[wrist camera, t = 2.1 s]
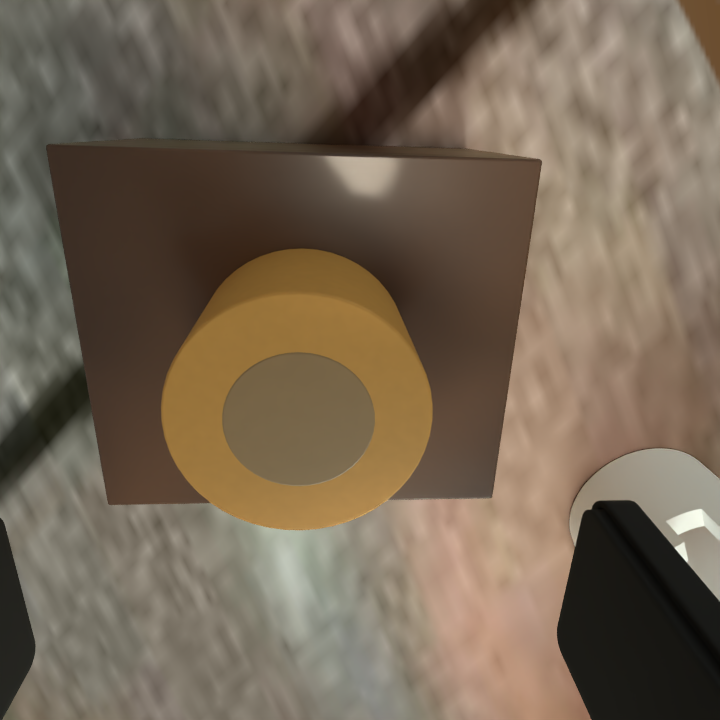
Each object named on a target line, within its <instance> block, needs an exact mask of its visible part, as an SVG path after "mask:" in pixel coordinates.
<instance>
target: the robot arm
mask: <svg viewBox="0 0 720 720" xmlns="http://www.w3.org/2000/svg"><path fill="white" fill-rule="evenodd" d="M557 638H558V644H559V648H560V651H561V653H562V656H563V658H564V660H565V662H566V664H567V667H568V669H569V671H570V673H571V675H572V677H573V680H574V682H575V684H576V686H577V688H578V691H579V693H580V695H581V697H582V699H583V702H584V704H585V706H586V708H587V710H588V713H589V715H590V717H591V719H592V720H720V601H719V600H718V599H717V598H716V596H715V595H714V594H713V593H712V592H711V590H710V589H709V588H708V587H707V586H706V585H705V583H704V582H703V581H702V580H701V579H700V577H699V576H698V575H697V574H696V573H695V572H694V570H693V569H692V568H691V567H690V566H689V564H688V563H687V562H686V561H685V560H684V558H683V557H682V556H681V555H680V554H679V553H678V551H677V550H676V549H675V548H674V547H673V545H672V544H671V543H670V542H669V541H668V540H667V538H666V537H665V536H664V535H663V534H662V532H661V531H660V530H659V529H658V528H657V527H656V525H655V524H654V523H653V522H652V521H651V519H650V518H649V517H648V516H647V515H646V513H645V512H644V511H643V510H642V509H641V508H640V506H639V505H638V504H637V503H635V502H634V501H631V500H601V501H596V502H595V503H594V504H593V506H592V509H591V510H585V511H584V513H583V515H582V519H581V523H580V528H579V532H578V537H577V541H576V546H575V550H574V555H573V559H572V564H571V568H570V573H569V577H568V582H567V586H566V591H565V595H564V600H563V604H562V609H561V613H560V618H559V622H558V627H557ZM34 655H35V640H34V636H33V632H32V628H31V624H30V620H29V616H28V613H27V609H26V605H25V601H24V597H23V593H22V589H21V586H20V582H19V578H18V574H17V570H16V566H15V563H14V559H13V555H12V551H11V547H10V543H9V539H8V536H7V532H6V528H5V524H4V522H3V520H2V519H1V518H0V720H2V719H3V717H4V715H5V713H6V711H7V710H8V708H9V706H10V704H11V702H12V701H13V699H14V697H15V695H16V693H17V691H18V690H19V688H20V686H21V684H22V682H23V680H24V679H25V677H26V675H27V673H28V671H29V669H30V667H31V665H32V662H33V659H34Z"/></svg>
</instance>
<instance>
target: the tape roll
mask: <svg viewBox="0 0 720 720" xmlns="http://www.w3.org/2000/svg"><path fill="white" fill-rule="evenodd" d="M432 414H433V404H432V396H431V389H430V385H429V382H428V378H427V375H426V372H425V370H424V368H423V365H422V363H421V361H420V359H419V356H418V354H417V352H416V349H415V347H414V345H413V343H412V340H411V338H410V336H409V334H408V331H407V329H406V327H405V324H404V322H403V320H402V318H401V315H400V313H399V311H398V309H397V306H396V304H395V302H394V301H393V299H392V297H391V296H390V294H389V293H388V291H387V290H386V289H385V287H384V286H383V285H382V284H381V283H380V281H379V280H377V279H376V278H375V277H374V276H373V275H372V274H371V273H370V272H369V271H367V270H366V269H364V268H363V267H361V266H360V265H358V264H357V263H355V262H353V261H351V260H349V259H347V258H345V257H342V256H339V255H337V254H334V253H331V252H326V251H321V250H315V249H287V250H281V251H276V252H272V253H269V254H266V255H263V256H260V257H258V258H256V259H254V260H252V261H249V262H247V263H246V264H244V265H243V266H241V267H240V268H238V269H237V270H236V271H234V272H233V273H232V274H231V275H230V276H229V277H228V278H226V279H225V281H224V282H223V283H222V284H221V285H220V286H219V288H218V289H217V290H216V292H215V293H214V295H213V296H212V298H211V300H210V301H209V303H208V304H207V306H206V308H205V309H204V311H203V312H202V314H201V316H200V317H199V319H198V320H197V322H196V324H195V325H194V327H193V328H192V330H191V332H190V333H189V335H188V336H187V338H186V340H185V341H184V343H183V344H182V346H181V348H180V349H179V351H178V353H177V354H176V356H175V357H174V359H173V361H172V364H171V366H170V368H169V370H168V373H167V375H166V379H165V383H164V387H163V391H162V400H161V421H162V427H163V432H164V437H165V440H166V443H167V446H168V448H169V451H170V454H171V456H172V458H173V460H174V462H175V463H176V465H177V467H178V469H179V470H180V471H181V473H182V474H183V476H184V477H185V479H186V480H187V481H188V482H189V483H190V484H191V485H192V486H193V488H194V489H195V490H196V491H197V492H198V493H199V494H201V495H202V496H203V497H204V498H205V499H207V500H208V501H209V502H210V503H212V504H213V505H215V506H216V507H218V508H220V509H221V510H223V511H224V512H226V513H228V514H230V515H232V516H234V517H236V518H239V519H242V520H244V521H247V522H250V523H252V524H256V525H260V526H264V527H269V528H276V529H283V530H310V529H320V528H325V527H331V526H335V525H338V524H342V523H345V522H348V521H351V520H353V519H355V518H358V517H360V516H363V515H364V514H366V513H368V512H370V511H372V510H373V509H375V508H377V507H378V506H380V505H381V504H382V503H384V502H385V501H387V500H388V499H389V498H390V497H391V496H393V495H394V494H395V493H396V492H397V491H398V490H399V489H400V488H401V487H402V486H403V485H404V484H405V482H406V481H407V480H408V479H409V478H410V476H411V475H412V473H413V472H414V470H415V469H416V467H417V466H418V464H419V462H420V460H421V458H422V456H423V454H424V451H425V449H426V446H427V443H428V440H429V436H430V432H431V425H432Z"/></svg>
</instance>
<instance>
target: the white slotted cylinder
mask: <svg viewBox="0 0 720 720" xmlns="http://www.w3.org/2000/svg"><path fill="white" fill-rule="evenodd" d="M601 500H631V501H634V502H635V503H637V504H638V505H639V506H640V508H641V509H642V510H643V511H644V512H645V513H646V515H647V516H648V517H649V518H650V519H651V521H652V522H653V523H654V524H655V525H656V527H657V528H658V529H659V530H660V531H661V532H662V534H663V535H664V536H665V537H666V538H667V540H668V541H669V542H670V543H671V544H672V545H673V547H674V548H675V549H676V550H677V551H678V553H679V554H680V555H681V556H682V557H683V558H684V560H685V561H686V562H687V563H688V564H689V566H690V567H691V568H692V569H693V570H694V572H695V573H696V574H697V575H698V576H699V577H700V579H701V580H702V581H703V582H704V583H705V585H706V586H707V587H708V588H709V589H710V590H711V592H712V593H713V594H714V595H715V596H716V598H717V599H718V600H719V601H720V479H719V478H718V477H717V476H716V475H714V474H713V473H712V472H711V471H710V470H709V469H708V468H706V467H705V466H704V465H703V464H702V463H701V462H700V461H698V460H697V459H696V458H694V457H692V456H691V455H689V454H687V453H684V452H681V451H678V450H673V449H665V448H654V449H645V450H641V451H636V452H633V453H630V454H627V455H624V456H622V457H620V458H618V459H616V460H614V461H612V462H610V463H609V464H607V465H606V466H604V467H603V468H601V469H600V470H599V471H598V472H596V473H595V474H594V475H593V476H592V477H591V478H590V479H589V480H588V481H587V482H586V483H585V485H584V486H583V487H582V489H581V490H580V492H579V493H578V495H577V497H576V499H575V501H574V503H573V506H572V509H571V513H570V519H569V528H570V533H571V536H572V540H573V543H574V546H576V541H577V537H578V532H579V528H580V523H581V519H582V515H583V513H584V511H585V510H591V509H592V506H593V504H594V503H595V502H596V501H601Z"/></svg>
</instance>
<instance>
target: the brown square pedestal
mask: <svg viewBox="0 0 720 720" xmlns="http://www.w3.org/2000/svg"><path fill="white" fill-rule="evenodd" d="M46 150H47V155H48V161H49V167H50V173H51V178H52V184H53V190H54V196H55V201H56V207H57V213H58V219H59V224H60V230H61V236H62V242H63V247H64V253H65V259H66V265H67V270H68V276H69V282H70V288H71V293H72V299H73V305H74V311H75V316H76V322H77V328H78V334H79V339H80V345H81V351H82V357H83V362H84V368H85V374H86V380H87V385H88V391H89V397H90V403H91V408H92V414H93V420H94V426H95V431H96V437H97V443H98V449H99V454H100V460H101V466H102V472H103V477H104V483H105V489H106V495H107V500H108V504H109V505H131V504H188V503H210V502H209V501H208V500H207V499H205V498H204V497H203V496H202V495H201V494H199V493H198V492H197V491H196V490H195V489H194V488H193V486H192V485H191V484H190V483H189V482H188V481H187V480H186V479H185V477H184V476H183V474H182V473H181V471H180V470H179V469H178V467H177V465H176V463H175V462H174V460H173V458H172V456H171V454H170V451H169V448H168V446H167V443H166V440H165V437H164V432H163V427H162V421H161V400H162V391H163V387H164V383H165V379H166V375H167V373H168V370H169V368H170V366H171V364H172V361H173V359H174V357H175V356H176V354H177V353H178V351H179V349H180V348H181V346H182V344H183V343H184V341H185V340H186V338H187V336H188V335H189V333H190V332H191V330H192V328H193V327H194V325H195V324H196V322H197V320H198V319H199V317H200V316H201V314H202V312H203V311H204V309H205V308H206V306H207V304H208V303H209V301H210V300H211V298H212V296H213V295H214V293H215V292H216V290H217V289H218V288H219V286H220V285H221V284H222V283H223V282H224V281H225V279H226V278H228V277H229V276H230V275H231V274H232V273H233V272H234V271H236V270H237V269H238V268H240V267H241V266H243V265H244V264H246V263H247V262H249V261H252V260H254V259H256V258H258V257H260V256H263V255H266V254H269V253H272V252H276V251H281V250H287V249H315V250H321V251H326V252H331V253H334V254H337V255H339V256H342V257H345V258H347V259H349V260H351V261H353V262H355V263H357V264H358V265H360V266H361V267H363V268H364V269H366V270H367V271H369V272H370V273H371V274H372V275H373V276H374V277H375V278H376V279H377V280H379V281H380V283H381V284H382V285H383V286H384V287H385V289H386V290H387V291H388V293H389V294H390V296H391V297H392V299H393V301H394V302H395V304H396V306H397V309H398V311H399V313H400V315H401V318H402V320H403V322H404V324H405V327H406V329H407V331H408V334H409V336H410V338H411V340H412V343H413V345H414V347H415V349H416V352H417V354H418V356H419V359H420V361H421V363H422V365H423V368H424V370H425V372H426V375H427V378H428V382H429V385H430V389H431V396H432V404H433V414H432V425H431V432H430V436H429V440H428V443H427V446H426V449H425V451H424V454H423V456H422V458H421V460H420V462H419V464H418V466H417V467H416V469H415V470H414V472H413V473H412V475H411V476H410V478H409V479H408V480H407V481H406V482H405V484H404V485H403V486H402V487H401V488H400V489H399V490H398V491H397V492H396V493H395V494H394V495H393V496H391V497H390V498H389V499H388V500H417V499H474V498H492V494H493V488H494V481H495V474H496V467H497V461H498V454H499V447H500V440H501V434H502V427H503V420H504V414H505V407H506V400H507V393H508V387H509V380H510V373H511V366H512V360H513V353H514V346H515V340H516V333H517V326H518V319H519V313H520V306H521V299H522V292H523V286H524V279H525V272H526V266H527V259H528V252H529V245H530V239H531V232H532V225H533V219H534V212H535V205H536V198H537V192H538V185H539V178H540V171H541V165H542V161H541V160H540V159H534V158H527V157H521V156H514V155H507V154H500V153H493V152H486V151H479V150H472V149H463V148H431V147H400V146H369V145H337V144H306V143H274V142H243V141H212V140H180V139H149V138H139V139H123V140H107V141H91V142H75V143H60V144H48V145H47V146H46Z"/></svg>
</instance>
